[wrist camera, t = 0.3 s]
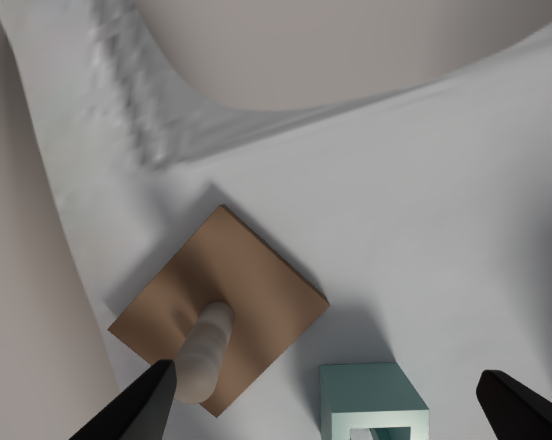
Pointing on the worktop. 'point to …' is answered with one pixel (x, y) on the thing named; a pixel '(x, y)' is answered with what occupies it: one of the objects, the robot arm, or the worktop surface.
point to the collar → (370, 402)
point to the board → (224, 280)
